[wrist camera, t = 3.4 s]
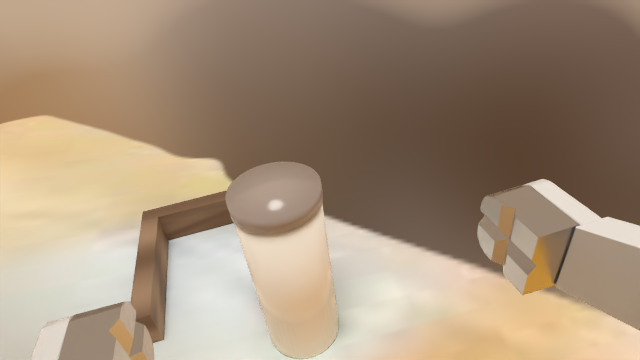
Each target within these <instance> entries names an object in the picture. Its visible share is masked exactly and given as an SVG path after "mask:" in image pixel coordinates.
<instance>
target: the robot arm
mask: <svg viewBox="0 0 640 360" xmlns="http://www.w3.org/2000/svg"><path fill="white" fill-rule="evenodd" d="M481 211H482V212H483V213H484V214H485V216H484V217H483V219H482V220H481V221H480V222H479V224H478V233H477V235H478V238H479V242H480V246H481V247H482V249H483V251H484V253H485V254H486V255H487V256H488V257H489V259H490V260H491V261H494V262H496V263H498V264H501V265H503V274H504V275H505V277H506V278H507V279H508V280H509V281H510V282H511V283H512V284H513V285H514V287H515V288H516V289H517V290H518V291H519V292H520V293H521V294H522V295H525V294H528V293H531V292H535V291H538V290H541V289H544V288H548V287H551V286H554V285H556V288H558V289H560V290H562V291H564V292H566V293H568V294H570V295H572V296H574V297H576V298H577V299H579V300H581V301H584V302H585V303H587V304H589V305H591V306H593V307H595V308H597V309H599V310H601V311H603V312H605V313H607V314H609V315H610V316H612V317H614V318H616V319H618V320H620V321H622V322H624V323H626V324H628V325H630V326H632V327H634V328H636V329H638V330H640V226H637V225H634V224H631V223H627V222H624V221H620V220H617V219H613V218H610V217H606V218H600V217H599V216H598V215H596V214H595V213H593V212H592V211H590V210H589V209H588V208H587V207H585V206H584V205H582V204H581V203H580V202H578V201H577V200H575V199H574V198H573V197H571V196H570V195H569V194H567V193H566V192H564V191H563V190H561V189H560V188H559V187H557V186H556V185H555V184H553V183H552V182H550V181H548V180H545V179H541V180H538V181H535V182H531V183H528V184H524V185H523V186H518V187H515V188H511V189H508V190H505V191H501V192H498V193H495V194H491V195H488V196H485V198H484V199H483V201H482V204H481ZM135 320H136V310H135V309H134V307H133V306H132V305H131V303H130V302H121V303H118V304H114V305H110V306H106V307H103V308H99V309H95V310H91V311H88V312H84V313H80V314H76V315H74V316H71V317H67V318H63V319H59V320H56V321H52V322H48V323H47V324H46V325H45V326H44V327H43V328H42V329H41V331H40V334H39V337H38V340H37V343H36V345H35V348H34V351H33V354H32V357H31V360H154V350H153V343H152V339H151V336H150V334H149V331H148V330H147V328H146V326H145V325H144V324H141V323H138V322H136V321H135Z"/></svg>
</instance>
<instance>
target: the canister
mask: <svg viewBox="0 0 640 360" xmlns="http://www.w3.org/2000/svg"><path fill="white" fill-rule="evenodd" d="M225 200H226V204H227V208H228V211H229V214H230V217H231V219H232V221H233V223H234V224H235V227H236V230H237V233H238V236H239V239H240V242H241V246H242V249H243V252H244V255H245V258H246V261H247V265H248V268H249V271H250V274H251V277H252V280H253V284H254V287H255V290H256V293H257V296H258V299H259V303H260V306H261V309H262V312H263V315H264V318H265V321H266V325H267V328H268V331H269V334H270V337H271V340H272V343H273V344H274V346H275V347H276V349H277V350H278V351H279V352H280V353H282V354H284V355H285V356H288V357H291V358H295V359H307V358H312V357H314V356H317V355H319V354H321V353H322V352H324V351H325V350H327V349H328V348H329V347H330V346H331V345H332V343H333V342H334V340H335V338H336V336H337V334H338V330H339V320H338V313H337V306H336V299H335V291H334V284H333V277H332V270H331V263H330V256H329V249H328V241H327V234H326V227H325V220H324V213H323V206H322V202H323V193H322V186H321V180H320V177H319V175H318V174H317V173H316V171H314V170H313V169H312V168H310V167H308V166H306V165H303V164H300V163H296V162H273V163H268V164H264V165H260V166H257V167H255V168H252V169H250V170H248V171H246V172H245V173H243V174H241V175H240V176H239V177H237V178H236V179H235V180H234V181H233V182H232V183H231V184H230V186H229V187H228V189H227V192H226V196H225Z"/></svg>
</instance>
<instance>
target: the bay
mask: <svg viewBox="0 0 640 360" xmlns="http://www.w3.org/2000/svg"><path fill="white" fill-rule="evenodd" d="M226 192H227V191H223V192H219V193H215V194H211V195H207V196H203V197H200V198H196V199H192V200H188V201H184V202H180V203H176V204H172V205H168V206H164V207H160V208H156V209H152V210H148V211H144V212H143V215H142V222H141V230H140V237H139V244H138V252H137V259H136V267H135V274H134V281H133V289H132V296H131V305H132V306H133V307H134V309H135V310H136V320H135V321H136V322H138V323H141V324H144V325H145V326H146V328H147V330H148V331H149V334H150V336H151V339H152V343H153V342H156V341H160V340H163V339H164V324H165V303H166V281H167V260H168V240H170V239H174V238H178V237H182V236H185V235H189V234H193V233H197V232H200V231H204V230H208V229H212V228H215V227H219V226H223V225H227V224H230V223H233V221H232V219H231V217H230V214H229V211H228V208H227V204H226V200H225V196H226Z"/></svg>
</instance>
